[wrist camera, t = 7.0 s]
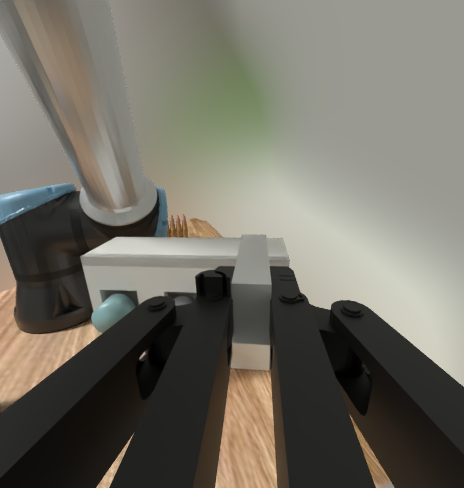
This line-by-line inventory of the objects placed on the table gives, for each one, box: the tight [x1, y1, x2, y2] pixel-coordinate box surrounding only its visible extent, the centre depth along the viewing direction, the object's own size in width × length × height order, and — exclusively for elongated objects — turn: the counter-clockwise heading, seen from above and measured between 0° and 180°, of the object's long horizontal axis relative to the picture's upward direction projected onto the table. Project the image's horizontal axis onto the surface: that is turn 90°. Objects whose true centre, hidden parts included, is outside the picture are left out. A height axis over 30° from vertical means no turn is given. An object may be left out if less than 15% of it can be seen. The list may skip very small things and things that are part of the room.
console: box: [80, 237, 290, 371], centre depth 35 cm, size 25×8×16 cm, turn 84°
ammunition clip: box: [167, 214, 188, 237], centre depth 73 cm, size 11×2×12 cm, turn 100°
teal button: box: [91, 294, 136, 334], centre depth 30 cm, size 4×3×4 cm
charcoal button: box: [174, 296, 195, 306], centre depth 29 cm, size 4×3×4 cm
